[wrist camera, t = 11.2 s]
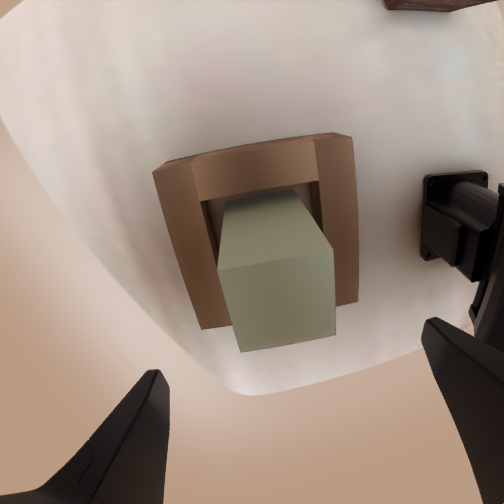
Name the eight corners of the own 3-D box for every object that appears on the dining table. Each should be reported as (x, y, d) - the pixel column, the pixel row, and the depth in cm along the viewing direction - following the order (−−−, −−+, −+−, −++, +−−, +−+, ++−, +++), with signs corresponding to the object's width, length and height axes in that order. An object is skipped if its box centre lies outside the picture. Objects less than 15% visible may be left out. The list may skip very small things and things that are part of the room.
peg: (293, 189, 17) (333, 249, 10) (301, 249, 19) (335, 335, 12) (225, 201, 17) (217, 270, 10) (239, 261, 19) (240, 352, 12)
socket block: (333, 132, 16) (351, 137, 13) (344, 277, 21) (358, 301, 18) (165, 162, 17) (152, 172, 14) (205, 302, 21) (201, 329, 18)
